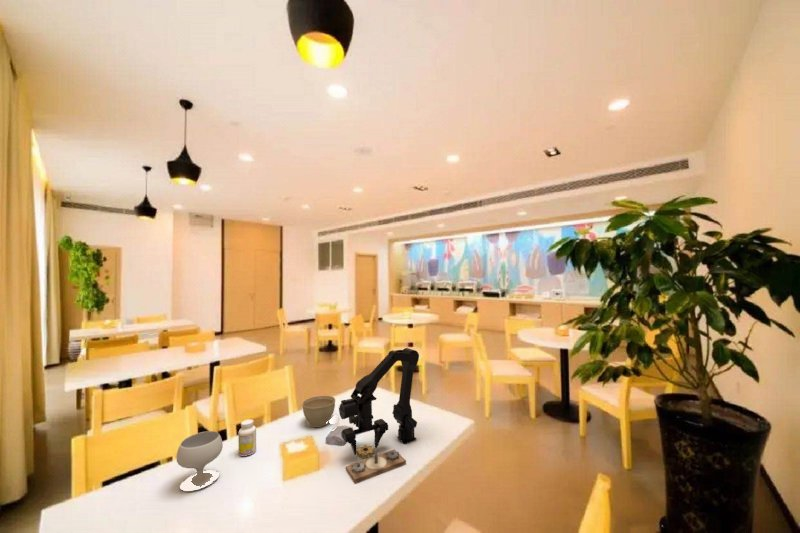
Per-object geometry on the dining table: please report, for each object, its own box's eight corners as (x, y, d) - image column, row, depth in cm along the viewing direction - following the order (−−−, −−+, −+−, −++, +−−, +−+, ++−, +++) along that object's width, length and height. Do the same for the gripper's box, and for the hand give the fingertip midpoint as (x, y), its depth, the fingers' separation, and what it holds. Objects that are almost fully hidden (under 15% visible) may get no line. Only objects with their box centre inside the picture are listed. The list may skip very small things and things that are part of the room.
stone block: (324, 449, 132) (345, 446, 130) (322, 437, 133) (343, 434, 131) (335, 436, 144) (355, 433, 142) (333, 425, 144) (353, 423, 142)
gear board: (394, 453, 124) (394, 439, 125) (405, 464, 117) (405, 449, 117) (345, 470, 114) (345, 455, 114) (354, 483, 106) (354, 467, 106)
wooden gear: (369, 447, 129) (369, 442, 129) (377, 456, 122) (377, 450, 123) (354, 453, 125) (354, 448, 125) (360, 461, 119) (360, 456, 119)
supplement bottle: (246, 447, 131) (246, 417, 131) (259, 449, 129) (259, 418, 130) (234, 456, 124) (234, 424, 125) (248, 458, 123) (248, 426, 123)
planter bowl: (342, 420, 155) (342, 398, 155) (318, 434, 141) (317, 410, 141) (320, 413, 163) (320, 393, 164) (295, 426, 150) (295, 403, 150)
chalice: (172, 500, 100) (172, 454, 100) (180, 476, 112) (180, 435, 113) (221, 486, 106) (221, 442, 107) (223, 465, 119) (223, 426, 119)
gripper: (376, 400, 136) (377, 436, 135) (336, 410, 127) (337, 448, 126) (388, 409, 127) (389, 447, 126) (346, 421, 117) (346, 462, 116)
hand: (365, 451), depth 124 cm, fingers open, 9 cm apart
